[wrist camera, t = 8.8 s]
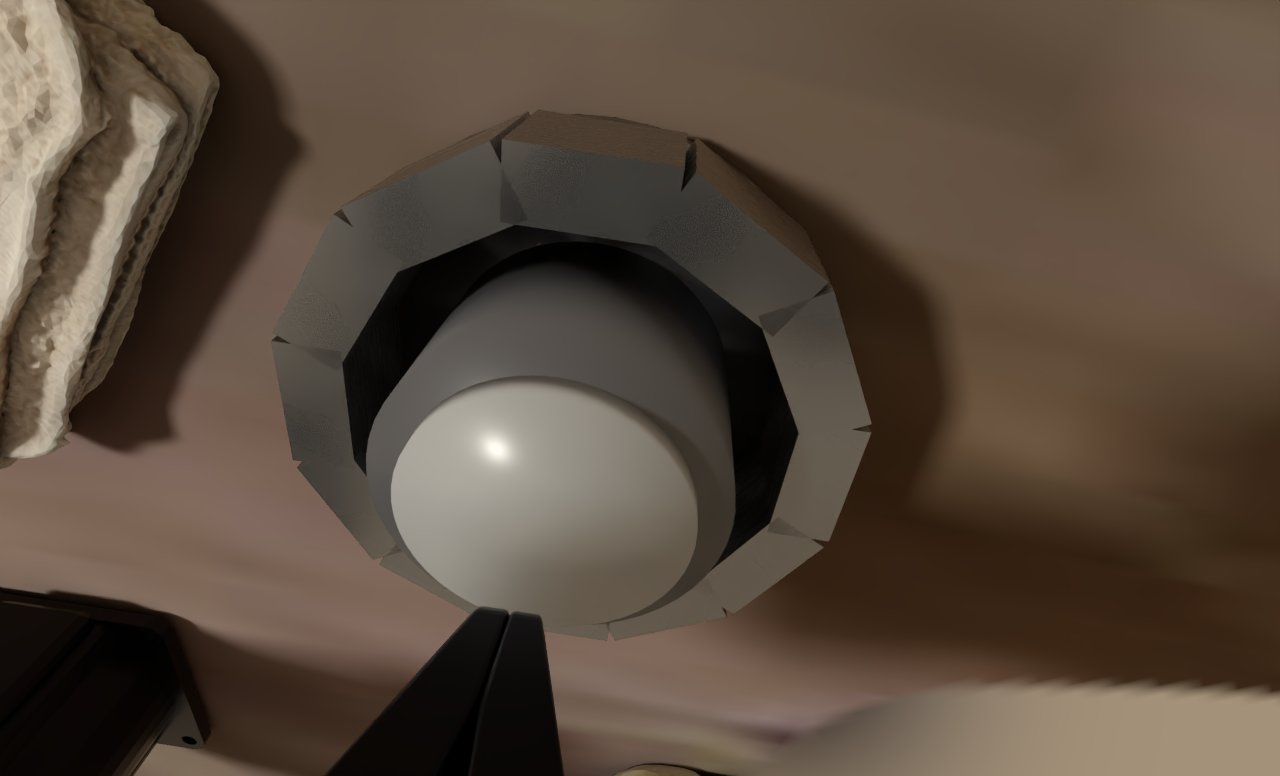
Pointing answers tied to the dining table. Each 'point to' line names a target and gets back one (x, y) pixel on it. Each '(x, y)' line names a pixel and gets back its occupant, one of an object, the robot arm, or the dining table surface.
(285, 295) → the dining table surface
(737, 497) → the grey ring
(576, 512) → the cap
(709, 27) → the dining table surface
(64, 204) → the washcloth
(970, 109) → the dining table surface
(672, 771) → the bread roll
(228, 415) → the dining table surface
